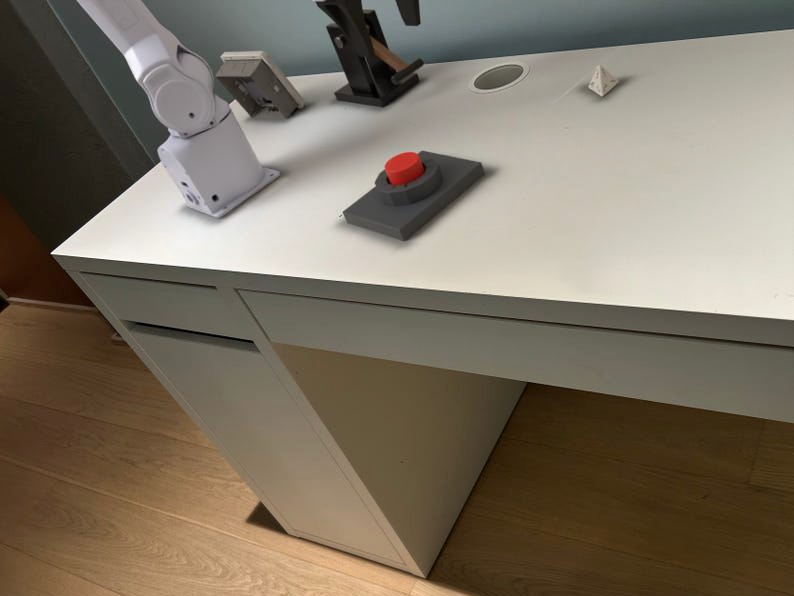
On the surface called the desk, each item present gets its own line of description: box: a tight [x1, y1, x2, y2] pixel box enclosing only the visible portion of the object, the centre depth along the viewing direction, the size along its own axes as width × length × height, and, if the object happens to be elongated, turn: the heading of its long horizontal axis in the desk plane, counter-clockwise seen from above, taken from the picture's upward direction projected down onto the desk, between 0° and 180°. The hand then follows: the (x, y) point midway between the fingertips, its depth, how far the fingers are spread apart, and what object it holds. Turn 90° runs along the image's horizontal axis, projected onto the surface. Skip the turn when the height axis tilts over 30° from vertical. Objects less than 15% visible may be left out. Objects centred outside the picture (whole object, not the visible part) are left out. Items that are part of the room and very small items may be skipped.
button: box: [384, 151, 424, 186], centre depth 72 cm, size 4×4×2 cm
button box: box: [341, 150, 485, 242], centre depth 73 cm, size 12×9×3 cm
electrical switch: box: [214, 50, 306, 120], centre depth 99 cm, size 9×5×9 cm, turn 57°
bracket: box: [325, 9, 421, 108], centre depth 94 cm, size 10×7×10 cm
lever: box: [366, 24, 425, 85], centre depth 91 cm, size 11×5×2 cm, turn 48°
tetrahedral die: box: [587, 63, 620, 98], centre depth 80 cm, size 4×3×3 cm
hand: (390, 39), depth 82 cm, fingers open, 7 cm apart
